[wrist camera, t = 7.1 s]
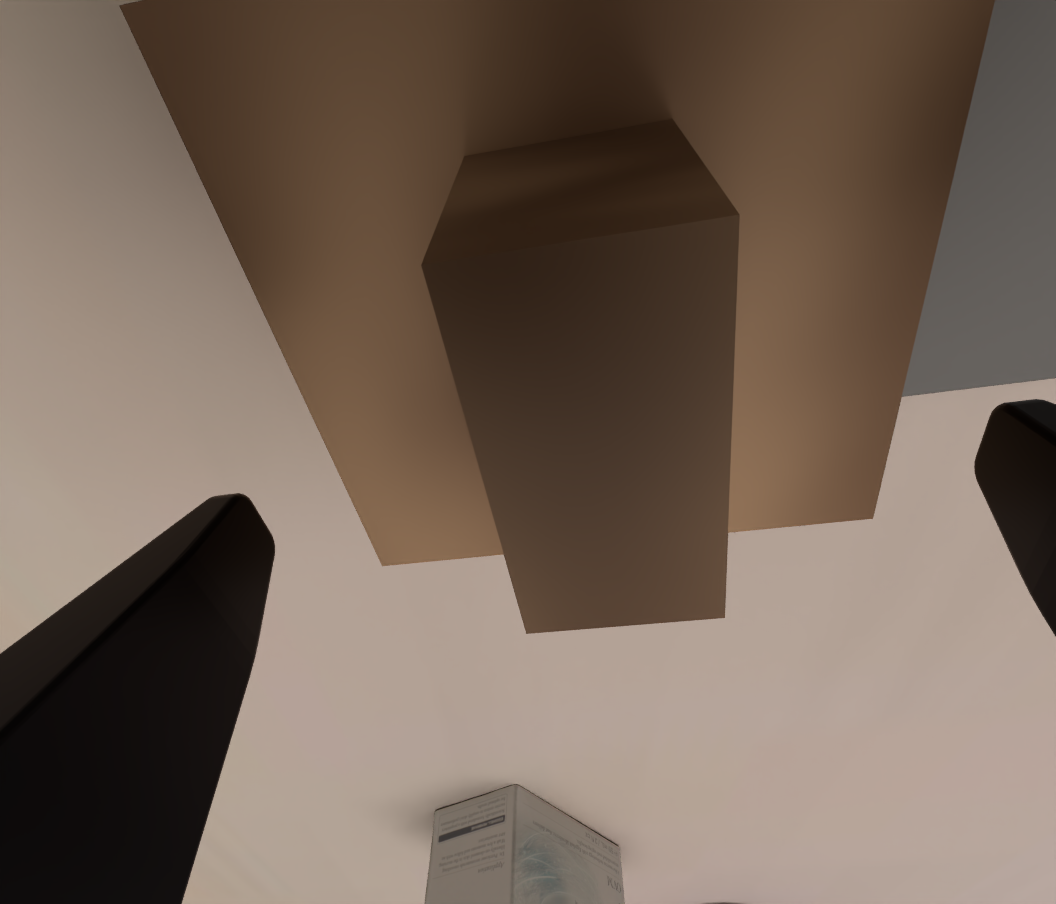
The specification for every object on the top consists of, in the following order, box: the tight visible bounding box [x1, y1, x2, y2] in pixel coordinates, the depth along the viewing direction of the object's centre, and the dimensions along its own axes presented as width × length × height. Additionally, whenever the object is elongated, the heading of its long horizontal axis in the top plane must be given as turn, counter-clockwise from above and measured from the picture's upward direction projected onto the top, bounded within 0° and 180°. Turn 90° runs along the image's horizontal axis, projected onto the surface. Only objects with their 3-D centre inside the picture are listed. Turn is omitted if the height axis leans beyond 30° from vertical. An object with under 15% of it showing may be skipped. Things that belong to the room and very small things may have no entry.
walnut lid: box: [120, 0, 995, 634], centre depth 10 cm, size 11×11×5 cm
